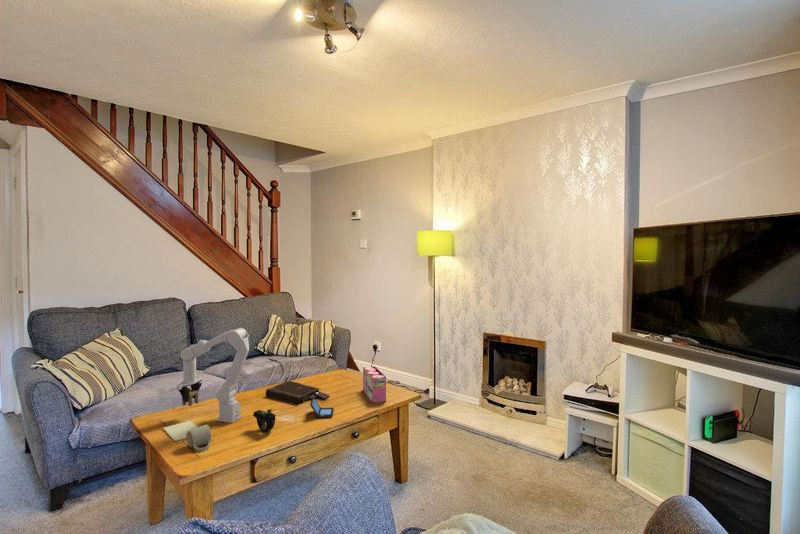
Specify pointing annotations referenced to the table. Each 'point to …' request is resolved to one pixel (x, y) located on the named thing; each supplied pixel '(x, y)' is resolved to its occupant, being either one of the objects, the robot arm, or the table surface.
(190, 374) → the robot arm
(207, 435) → the ceramic mug
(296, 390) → the black media player box
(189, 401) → the stool
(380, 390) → the gum box
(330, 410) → the handheld game console
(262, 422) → the controller
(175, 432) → the mat
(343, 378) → the table surface
